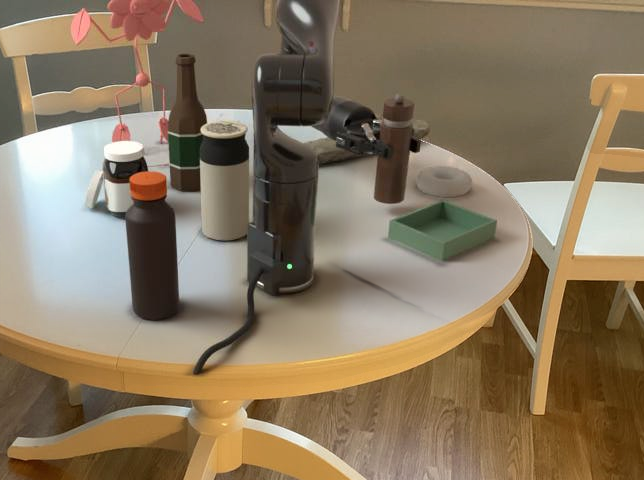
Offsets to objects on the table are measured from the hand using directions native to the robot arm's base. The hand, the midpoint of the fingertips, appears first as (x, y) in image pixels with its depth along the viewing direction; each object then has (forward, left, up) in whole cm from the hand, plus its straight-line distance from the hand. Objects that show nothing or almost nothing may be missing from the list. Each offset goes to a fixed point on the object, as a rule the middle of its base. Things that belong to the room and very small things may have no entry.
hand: (404, 150), depth 139 cm
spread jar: (-35, +35, -13) cm, 51 cm away
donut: (+16, +3, -13) cm, 21 cm away
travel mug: (-26, +15, -13) cm, 32 cm away
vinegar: (-50, +1, -13) cm, 51 cm away
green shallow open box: (-1, -10, -12) cm, 16 cm away
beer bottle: (-18, +36, -13) cm, 42 cm away
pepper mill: (0, +3, -9) cm, 10 cm away
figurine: (-15, +54, -13) cm, 58 cm away
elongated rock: (+20, +29, -13) cm, 37 cm away
